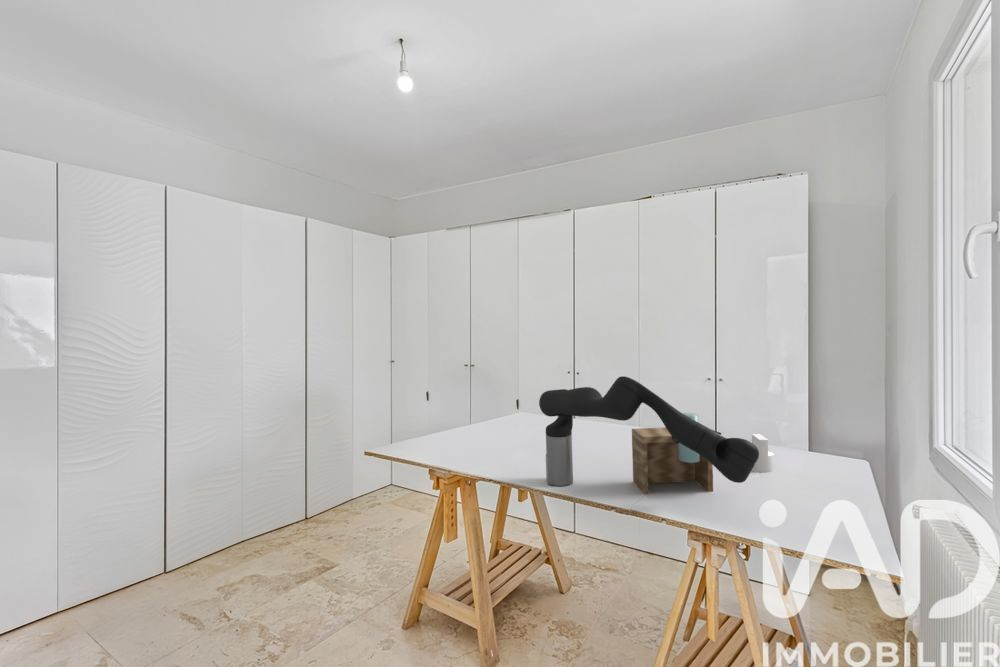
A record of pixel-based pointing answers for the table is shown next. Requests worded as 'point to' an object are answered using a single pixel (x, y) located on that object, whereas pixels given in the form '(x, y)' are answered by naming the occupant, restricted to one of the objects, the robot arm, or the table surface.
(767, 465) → the base with upright slab
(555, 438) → the robot arm
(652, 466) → the open wooden box
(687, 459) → the tumbler
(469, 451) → the table surface
